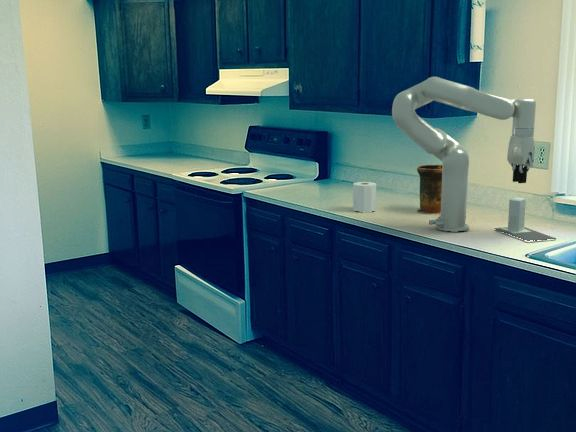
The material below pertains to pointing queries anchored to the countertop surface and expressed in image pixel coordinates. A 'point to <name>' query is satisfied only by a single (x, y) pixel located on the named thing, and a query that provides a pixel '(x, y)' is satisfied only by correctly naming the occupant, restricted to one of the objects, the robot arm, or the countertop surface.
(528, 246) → the countertop surface
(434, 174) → the vessel
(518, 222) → the skincare box
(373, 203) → the toilet paper
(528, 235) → the mat
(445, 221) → the robot arm
